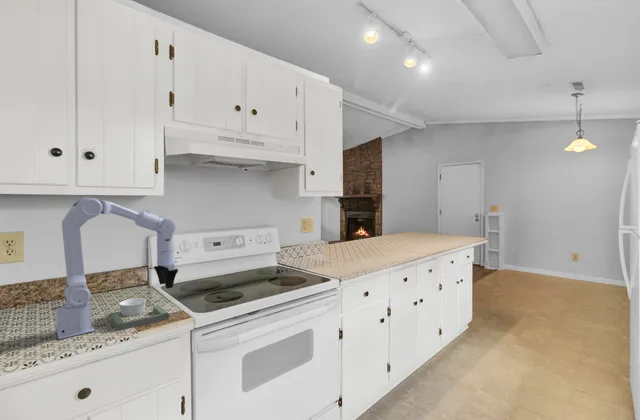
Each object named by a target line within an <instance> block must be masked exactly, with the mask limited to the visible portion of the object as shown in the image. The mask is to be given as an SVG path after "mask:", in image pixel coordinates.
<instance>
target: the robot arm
mask: <svg viewBox="0 0 640 420" xmlns="http://www.w3.org/2000/svg"><path fill="white" fill-rule="evenodd" d="M100 214H101V215H107V214H108V215H109V214H113V215H116V216H119V217H122V218H125V219H128V220H132V221H134V224H135V225H136V226H138V227H141V228H144V229H147V230H150V231H153V232H156V254H157V255H156V265H154V266H153V269H154V270H155V273H156V274H157V278H158V282H159V285H165V288H166V289H167V290H168V289H172V288H173V287H174V283H175V278H176V276H177V274H178V272H179V269H178V268H176V265H175V264H177V263H178V260H177V259H176V260H175V259H174V257H175V256H174V255H175V253H174V250H175V249H174V233H175V231H176V228H177V226H176V225H175V223H174V221H173V220H171V219H167V218H164V216H163V215H157V214H154V213H152V212H151V211H150V210H147V209H146V210H141V211H138V212H137V211H135V210H132V209H130V208H128V207H125V206H122V205H119V204H117V203H115V202H113V201H108V200H102V199H97V198H95V197H82V198H80V199H78V200H76V201H75V202H73V204H72V205H71V207H70V209H69V210H68V212H67V213H66V214H65V216H64V218H63V219H62V220H61V230H62V231H61V232H62V240H63V241H62V242H63V251H64V252H63V253H64V259H65V260H64V261H65V262H64V263H65V273H66V278H65V279H66V280H65V281H66V285H65V288H64V290H63V296H64V297H65V299H66V301H65V303H64V304H63V306H61V307H58V308H56V309H55V324H56V325H55V332H56V335H57V338H58V339H59V340H61V339H66V338H69V337H75V336H79V335H83V334H88V333H92V332H93V333H94V332H95V328H94V326H93V324H92V301H91V297H92V293H91V291H90V289H89V288H88V286H87V280H86V276H85V267H84V256H83V254H84V253H83V245H82V234H81V227H83V226H84V225H85V224H86V223H87V222H88V221H89V220H92V219H94V218H96V217H98V216H99V215H100Z"/></svg>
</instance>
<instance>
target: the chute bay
mask: <svg viewBox="0 0 640 420" xmlns="http://www.w3.org/2000/svg"><path fill="white" fill-rule="evenodd" d="M152 312H153V313H154V315H149V316H145V317H140V318H137V319H132V320H127V321H124V320H123V319H122V318H121V316H120V315H119V314H118V313H115V314H110V321H111V322H112V324H113V325H114V327H115V328H116V329H117V331H123V330H127V329H128V330H129V329H131V328H135V327H140V326H146V325H149V324H152V323H153V324H154V323H157V322H162V321H167V320H169V319H170V316H169V315H170V313H169V311H166V310H165V309H164V308H163V307H161V306H160V305H159V304H158V305H153V306H152Z"/></svg>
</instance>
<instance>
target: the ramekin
mask: <svg viewBox="0 0 640 420" xmlns="http://www.w3.org/2000/svg"><path fill="white" fill-rule="evenodd" d="M146 302H147V299H146V298H143V297H142V298H141V297H137V298H135V297H134V298H129V299H126V300H122V301H120V302H119V308H120V314H121V315H122V316H124V317H133V316H139V315H140V314H143V313H144V312H145V310H146Z"/></svg>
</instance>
